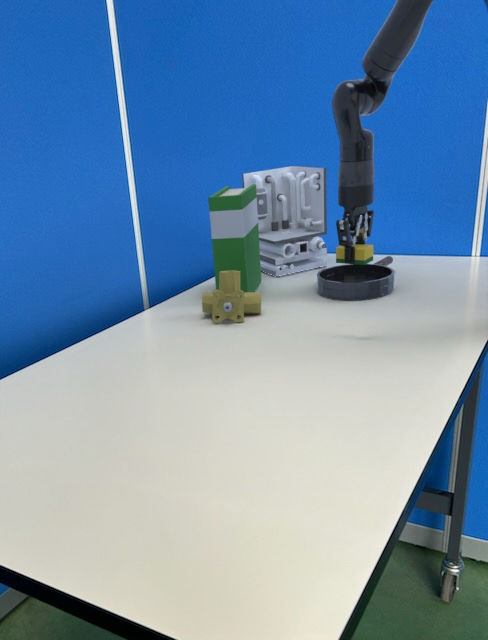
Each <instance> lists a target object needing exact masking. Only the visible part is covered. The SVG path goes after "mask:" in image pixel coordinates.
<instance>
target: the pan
mask: <svg viewBox="0 0 488 640" xmlns="http://www.w3.org/2000/svg"><path fill="white" fill-rule="evenodd" d="M395 279H396V271H395V270H394V269H393V267H390V266H388V265H387V266H383V265H378V264H374V263H367V264H365V265H357V264H339V265H334V266H333V265H332V266H329V267H325V268H324V269H321V270H320V271H318V272H317V274H316V292H317V291H318V292H317V294H318V293H319V294H320V295H319V294H318V295H319V296H321V297H323V298H326V297H327V298H326V299H329V298H331V299H330V300H333V301H334V300H335V299H337V300H335V301H346V302H350V301H353V302H355V301H368V300H375V299H379V298H383V297H386V296H388V295H390V294H392V293H393V292H394V291H395V285H396V284H395V283H396V280H395ZM392 291H393V292H392ZM385 295H386V296H385ZM367 299H368V300H367Z"/></svg>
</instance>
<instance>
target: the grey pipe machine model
mask: <svg viewBox="0 0 488 640" xmlns="http://www.w3.org/2000/svg"><path fill="white" fill-rule="evenodd" d="M241 178H242V179H241V181H242V188H248V187H249V186H251V185H252V184H256V193H257V211H258V230H259V248H260V267H261V271H264V272H266V273H269V274H272V275H274V276H279V275H283V274H288V273H292V272H297V271H301V270H306V269H311V268H316V267H320V266H325V265H327V266H326V267H325V268H328V260H327V259H324V258H319V257H322V256H327V255H328V248H327V245H326V242H325V241H324V239H323V238H322V237H320V236H325V235H327V234H328V216H327V215H328V213H327V211H328V210H327V209H328V207H327V203H328V202H327V167H319V166H317V167H316V166H302V165H289V166H283V167H275V168H270V169H263V170H257V171H252V172H245V173H241ZM318 269H319V268H317V269H316V270H318ZM304 272H305V271H303V272H302V273H304ZM266 273H264V275H265V274H266ZM294 274H296V273H294ZM294 274H293V275H294ZM266 275H267V274H266ZM290 275H291V274H289V275H288V276H290ZM274 276H272V277H274ZM280 277H282V276H280ZM280 277H279V278H280ZM274 278H275V277H274Z"/></svg>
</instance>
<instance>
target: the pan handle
mask: <svg viewBox="0 0 488 640" xmlns="http://www.w3.org/2000/svg"><path fill="white" fill-rule="evenodd" d="M393 262H394V258H393V257H392V256H391V255H388V256H385V257H383V258H382V259H380V260H378V261H376V262H375V263H373V264H378V265H383V266H387V267H388V266H390V265H391V264H392V263H393Z"/></svg>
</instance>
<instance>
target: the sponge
mask: <svg viewBox="0 0 488 640" xmlns="http://www.w3.org/2000/svg"><path fill="white" fill-rule="evenodd" d="M354 247H355V262H354V263H353V264H357V265H365V264H370V263H371V262H373V261H374V244H365V245H363V244H355V246H354ZM344 249H345V247H343V246H340V245H339V246H336V247H335V264H343V265H346V263H345V262H344Z"/></svg>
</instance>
